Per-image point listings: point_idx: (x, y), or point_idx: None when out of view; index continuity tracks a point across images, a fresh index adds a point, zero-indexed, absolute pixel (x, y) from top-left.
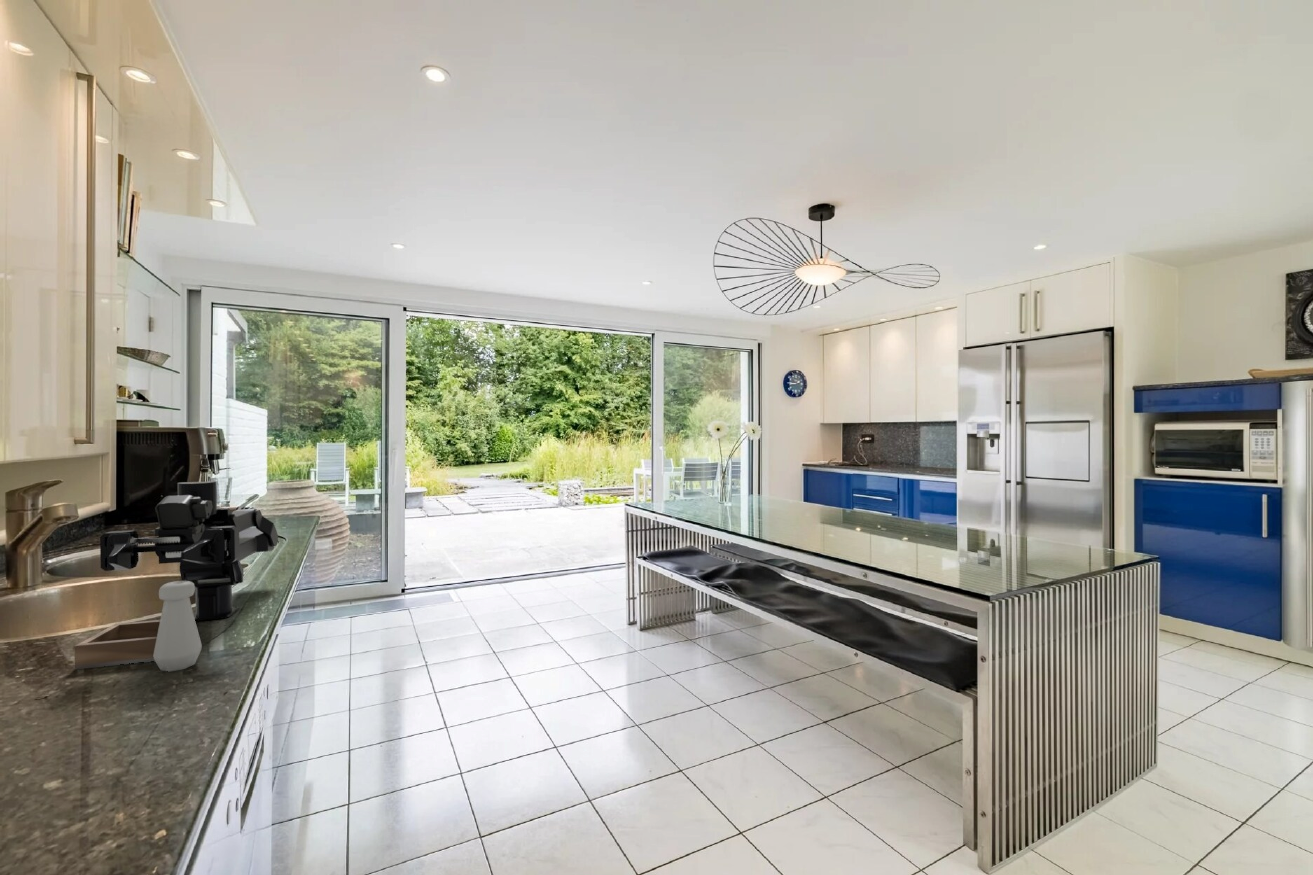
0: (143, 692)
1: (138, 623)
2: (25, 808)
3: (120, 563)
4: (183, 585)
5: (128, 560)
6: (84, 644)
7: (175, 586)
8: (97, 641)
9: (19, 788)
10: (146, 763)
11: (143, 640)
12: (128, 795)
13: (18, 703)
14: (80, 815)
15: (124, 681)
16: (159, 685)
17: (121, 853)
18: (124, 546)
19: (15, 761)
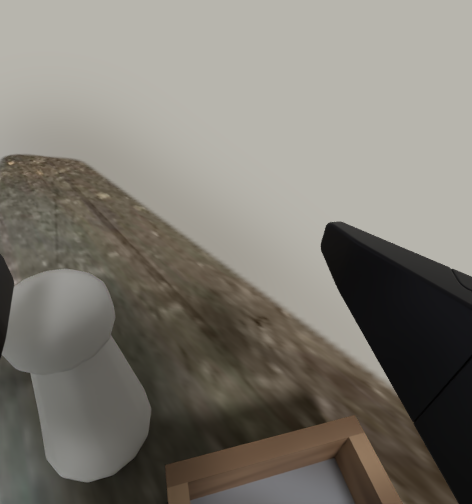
0: (116, 322)
1: None
2: (104, 182)
3: (364, 322)
4: (20, 282)
5: (469, 447)
6: (342, 426)
7: (45, 272)
8: (373, 499)
9: (124, 194)
10: (43, 204)
11: (211, 454)
12: (42, 183)
13: (276, 309)
14: (65, 175)
15: (177, 366)
16: None
17: (28, 157)
18: (461, 306)
19: (156, 217)
